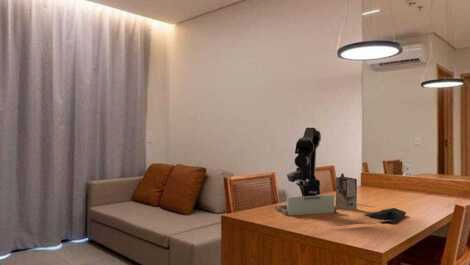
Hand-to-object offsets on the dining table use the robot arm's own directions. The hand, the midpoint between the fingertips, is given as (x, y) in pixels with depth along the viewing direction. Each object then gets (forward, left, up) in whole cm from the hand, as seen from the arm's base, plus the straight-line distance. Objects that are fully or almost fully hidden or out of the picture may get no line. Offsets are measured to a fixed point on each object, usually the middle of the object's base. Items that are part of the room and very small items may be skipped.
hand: (304, 198), depth 166 cm
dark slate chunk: (+18, +32, -8) cm, 37 cm away
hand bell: (-19, +34, -7) cm, 40 cm away
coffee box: (-1, +24, -7) cm, 25 cm away
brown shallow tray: (+1, 0, -7) cm, 7 cm away
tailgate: (+7, 0, -6) cm, 9 cm away
